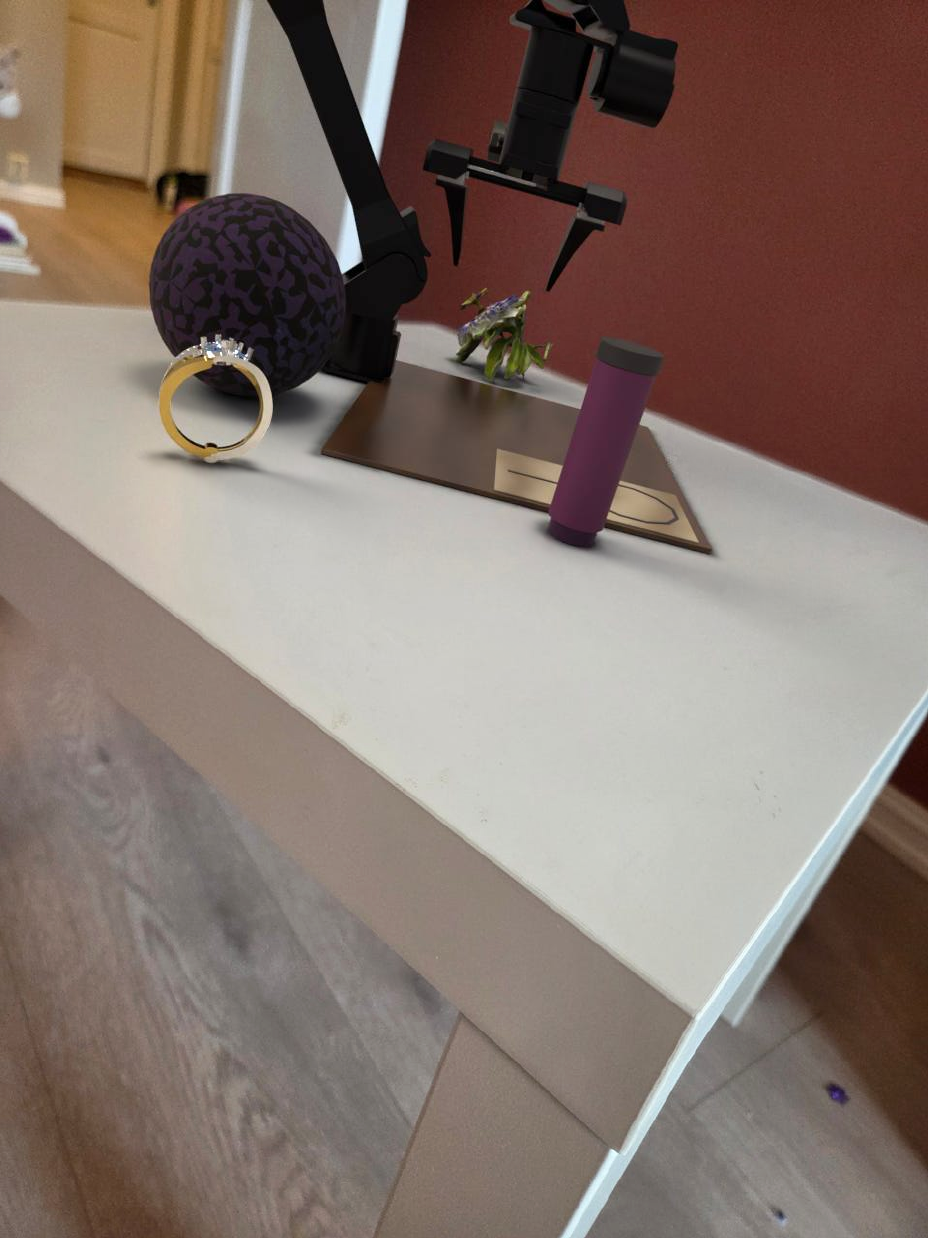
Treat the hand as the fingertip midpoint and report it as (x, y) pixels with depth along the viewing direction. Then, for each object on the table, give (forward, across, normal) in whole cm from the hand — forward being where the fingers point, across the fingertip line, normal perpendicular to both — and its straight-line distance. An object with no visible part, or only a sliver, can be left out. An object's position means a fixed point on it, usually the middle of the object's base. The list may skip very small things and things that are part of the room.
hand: (501, 278), depth 86 cm
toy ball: (+12, +19, +19) cm, 30 cm away
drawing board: (+12, -5, +11) cm, 17 cm away
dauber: (+12, -9, +33) cm, 36 cm away
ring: (+12, +16, +36) cm, 41 cm away
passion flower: (+12, -2, -16) cm, 20 cm away
